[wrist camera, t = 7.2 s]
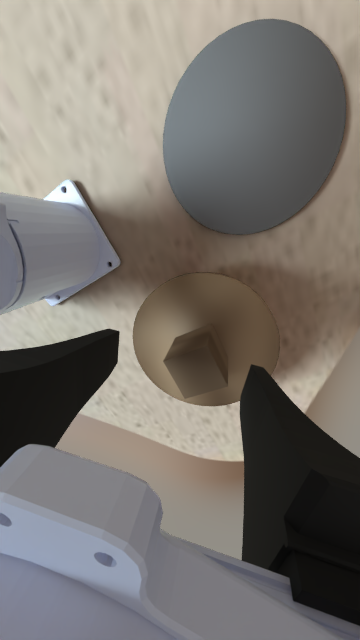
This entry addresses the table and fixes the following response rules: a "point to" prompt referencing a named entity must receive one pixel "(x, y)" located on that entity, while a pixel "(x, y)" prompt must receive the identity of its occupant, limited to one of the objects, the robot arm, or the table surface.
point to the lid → (204, 337)
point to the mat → (254, 126)
